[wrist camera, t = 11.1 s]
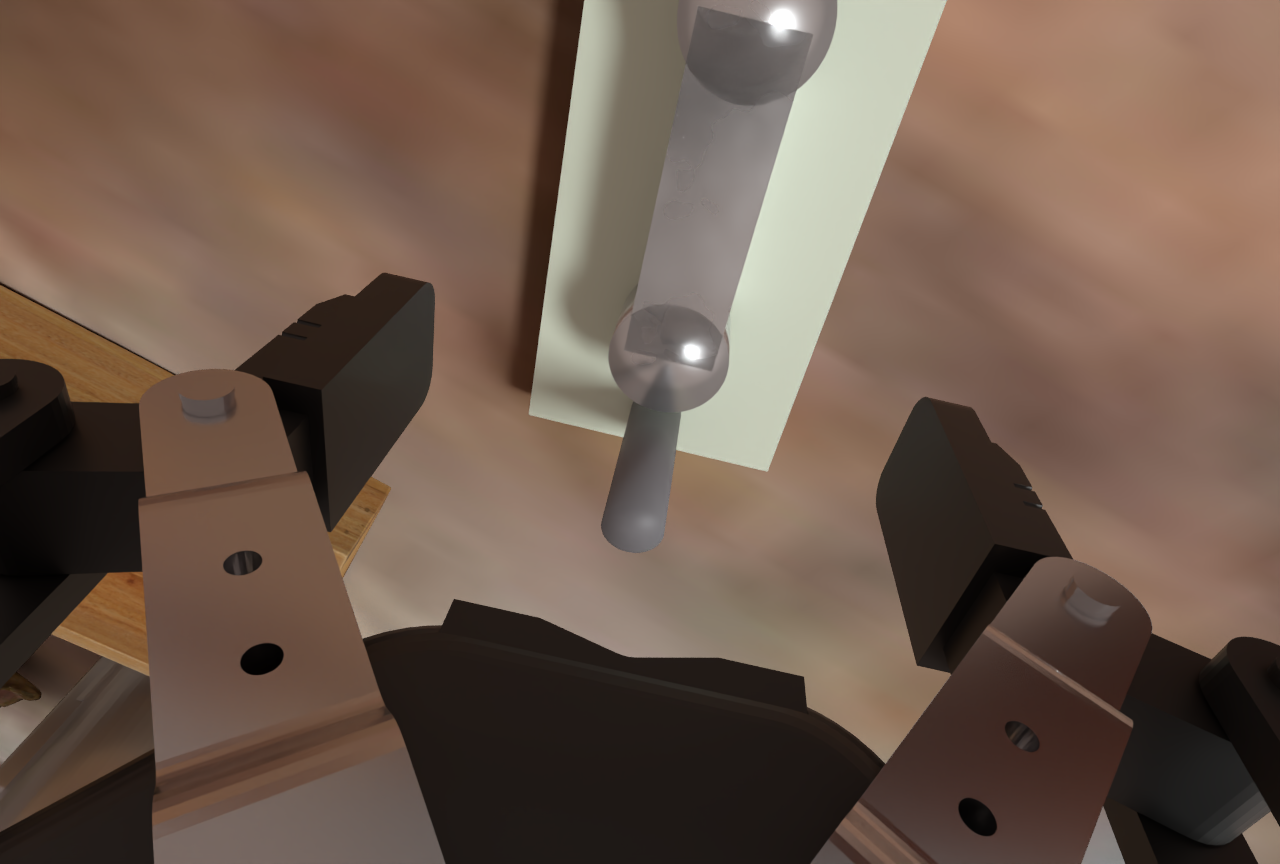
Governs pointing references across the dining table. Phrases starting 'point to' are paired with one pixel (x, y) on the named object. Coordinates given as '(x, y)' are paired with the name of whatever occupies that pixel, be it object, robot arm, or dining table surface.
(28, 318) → the tray
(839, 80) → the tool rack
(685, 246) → the grey dumbbell
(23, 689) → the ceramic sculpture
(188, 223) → the dining table surface
